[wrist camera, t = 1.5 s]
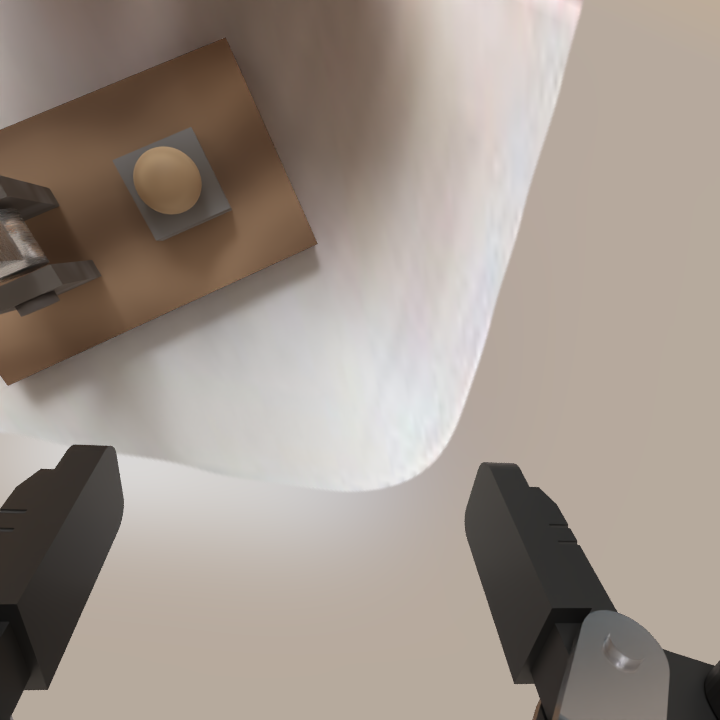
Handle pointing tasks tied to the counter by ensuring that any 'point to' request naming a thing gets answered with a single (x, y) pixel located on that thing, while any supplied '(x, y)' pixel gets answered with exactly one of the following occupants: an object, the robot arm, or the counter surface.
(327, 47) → the counter surface
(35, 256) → the lever
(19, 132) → the nutcracker bench
